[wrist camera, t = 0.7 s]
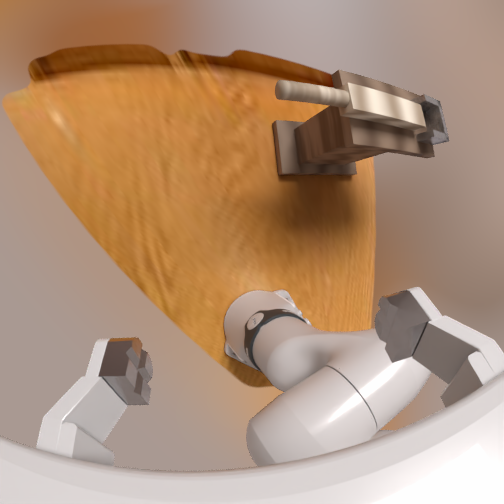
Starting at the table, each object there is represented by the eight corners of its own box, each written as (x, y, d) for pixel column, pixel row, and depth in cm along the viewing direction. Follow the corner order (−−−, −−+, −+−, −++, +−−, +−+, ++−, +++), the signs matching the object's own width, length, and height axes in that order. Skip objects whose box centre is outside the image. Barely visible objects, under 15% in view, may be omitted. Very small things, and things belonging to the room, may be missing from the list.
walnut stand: (278, 175, 59) (353, 144, 35) (272, 123, 58) (338, 69, 34) (351, 175, 65) (434, 156, 41) (345, 129, 64) (421, 96, 40)
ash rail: (276, 108, 31) (286, 99, 28) (272, 81, 31) (282, 70, 28) (413, 130, 39) (426, 126, 36) (408, 109, 38) (420, 104, 35)
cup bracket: (416, 141, 39) (434, 136, 35) (408, 100, 38) (424, 94, 34) (432, 144, 41) (449, 141, 37) (424, 106, 40) (439, 101, 36)
